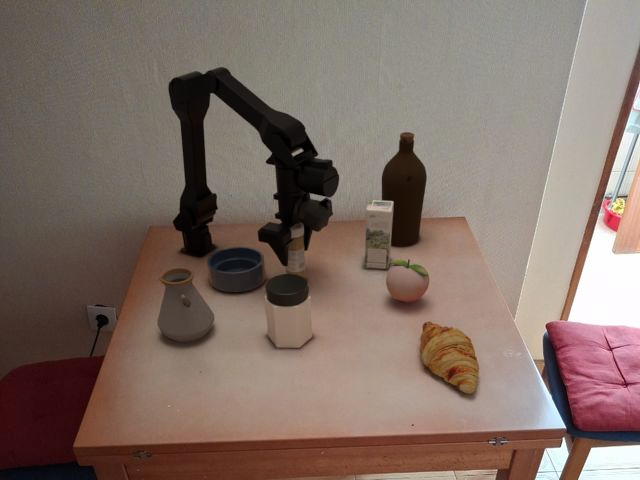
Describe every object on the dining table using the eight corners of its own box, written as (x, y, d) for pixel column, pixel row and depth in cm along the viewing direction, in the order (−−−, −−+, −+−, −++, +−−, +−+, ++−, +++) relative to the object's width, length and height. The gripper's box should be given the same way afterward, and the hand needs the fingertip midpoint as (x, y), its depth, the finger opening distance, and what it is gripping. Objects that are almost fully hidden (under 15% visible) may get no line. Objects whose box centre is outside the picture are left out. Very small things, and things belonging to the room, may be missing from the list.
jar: (318, 342, 122) (316, 289, 114) (280, 353, 119) (276, 299, 111) (299, 321, 128) (296, 268, 120) (263, 331, 125) (258, 278, 117)
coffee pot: (156, 322, 128) (141, 256, 118) (210, 312, 131) (200, 247, 121) (171, 381, 113) (154, 312, 103) (231, 369, 116) (221, 299, 106)
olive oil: (429, 239, 154) (440, 134, 137) (398, 252, 150) (406, 145, 133) (401, 225, 161) (408, 124, 144) (370, 237, 156) (374, 133, 139)
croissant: (482, 409, 111) (509, 375, 106) (440, 399, 106) (466, 363, 101) (434, 344, 125) (456, 311, 121) (396, 332, 120) (417, 298, 116)
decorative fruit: (377, 307, 131) (379, 264, 124) (391, 289, 136) (394, 247, 130) (419, 316, 128) (424, 273, 121) (431, 298, 133) (436, 255, 127)
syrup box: (390, 259, 147) (394, 199, 137) (388, 270, 143) (391, 210, 133) (367, 257, 148) (368, 198, 138) (364, 269, 144) (365, 209, 134)
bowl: (199, 286, 139) (195, 265, 136) (232, 262, 147) (229, 242, 144) (244, 299, 134) (242, 278, 131) (276, 274, 143) (274, 254, 139)
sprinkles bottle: (297, 274, 143) (295, 218, 133) (309, 281, 140) (308, 225, 131) (282, 280, 140) (278, 224, 131) (294, 288, 138) (291, 231, 129)
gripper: (300, 211, 117) (304, 284, 127) (346, 178, 129) (346, 248, 139) (252, 201, 121) (260, 273, 132) (301, 171, 133) (305, 239, 143)
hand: (295, 258), depth 136 cm, fingers open, 8 cm apart
